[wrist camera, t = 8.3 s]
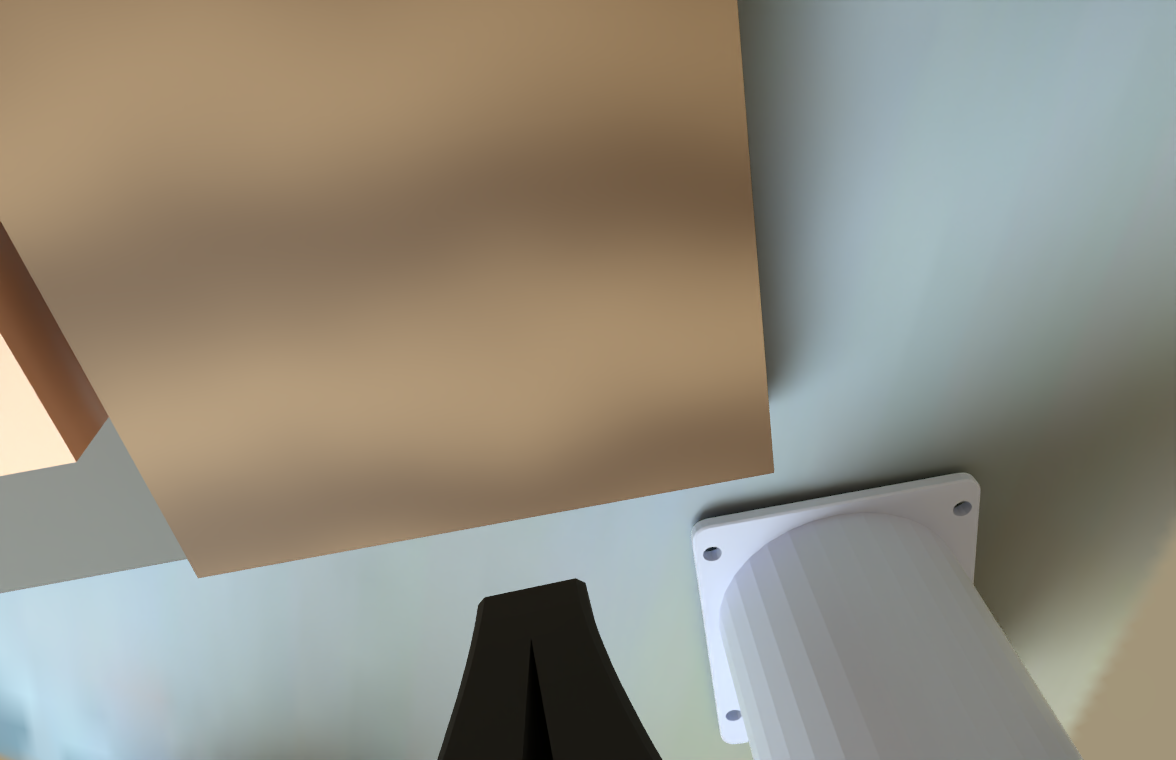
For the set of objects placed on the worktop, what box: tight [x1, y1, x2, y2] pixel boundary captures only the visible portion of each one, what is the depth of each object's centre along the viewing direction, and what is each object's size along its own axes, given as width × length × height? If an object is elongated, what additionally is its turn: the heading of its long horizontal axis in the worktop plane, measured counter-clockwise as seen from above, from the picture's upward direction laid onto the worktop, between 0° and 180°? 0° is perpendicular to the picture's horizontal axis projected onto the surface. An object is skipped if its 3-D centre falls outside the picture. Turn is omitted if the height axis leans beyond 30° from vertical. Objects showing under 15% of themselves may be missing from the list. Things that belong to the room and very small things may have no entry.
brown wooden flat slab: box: [0, 0, 774, 578], centre depth 18 cm, size 14×14×2 cm
